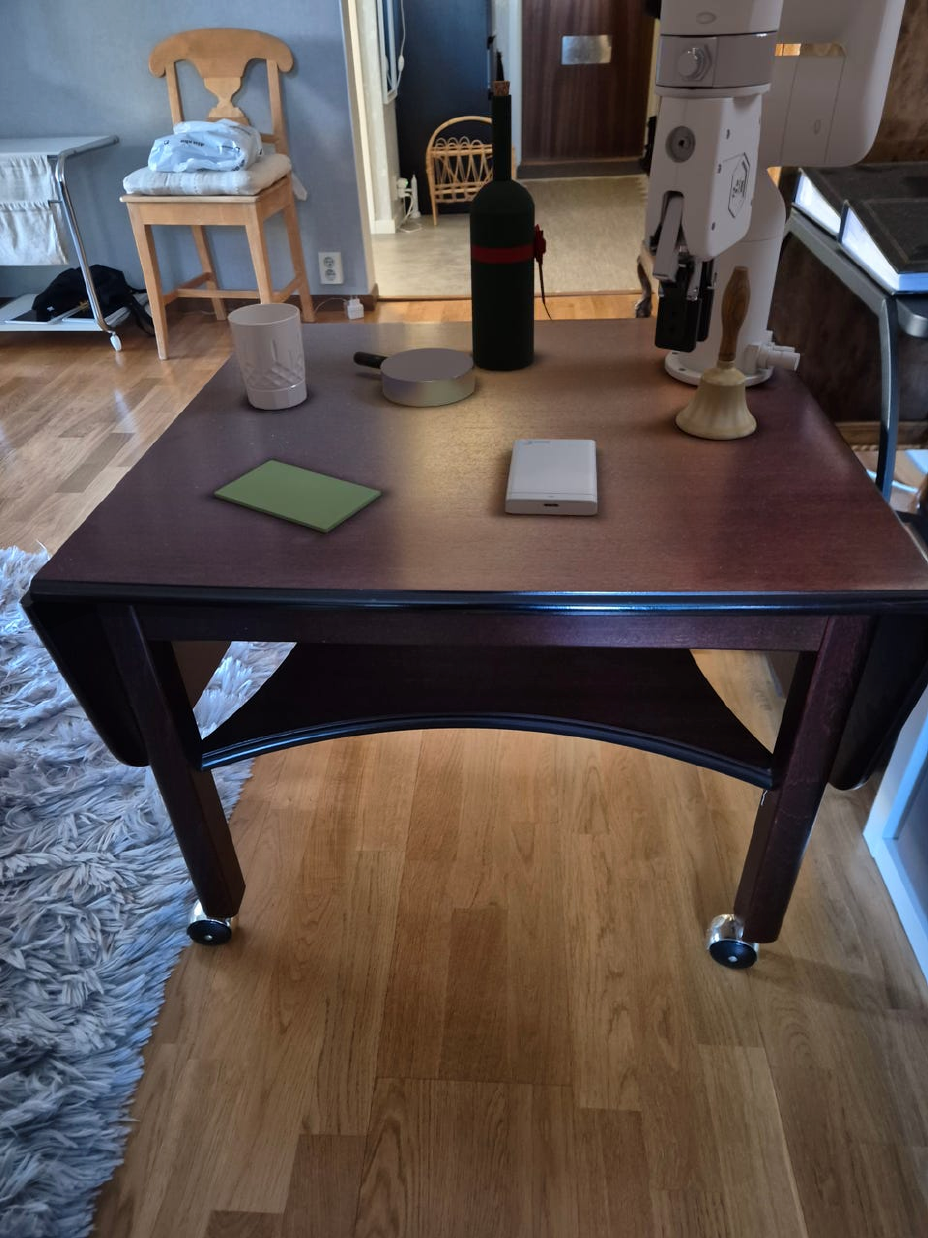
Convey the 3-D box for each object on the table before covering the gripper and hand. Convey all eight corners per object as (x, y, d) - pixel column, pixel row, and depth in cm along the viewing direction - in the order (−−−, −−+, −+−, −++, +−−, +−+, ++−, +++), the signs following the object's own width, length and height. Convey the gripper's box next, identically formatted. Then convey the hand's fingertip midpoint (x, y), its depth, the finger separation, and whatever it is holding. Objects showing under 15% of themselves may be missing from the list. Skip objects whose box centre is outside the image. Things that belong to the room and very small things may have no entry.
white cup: (319, 386, 103) (307, 302, 97) (302, 412, 96) (288, 324, 90) (256, 386, 103) (240, 302, 97) (236, 412, 97) (217, 324, 91)
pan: (492, 380, 102) (491, 356, 100) (441, 413, 95) (440, 387, 93) (383, 358, 109) (380, 335, 108) (328, 387, 102) (324, 363, 100)
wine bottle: (557, 367, 105) (567, 81, 87) (476, 373, 104) (468, 86, 86) (545, 345, 111) (551, 75, 93) (469, 351, 110) (460, 80, 92)
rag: (381, 495, 80) (380, 491, 80) (326, 533, 75) (325, 529, 74) (271, 463, 86) (271, 459, 86) (214, 496, 81) (213, 492, 81)
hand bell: (770, 421, 90) (800, 263, 80) (731, 447, 85) (758, 283, 76) (701, 402, 95) (722, 251, 85) (660, 426, 90) (678, 269, 80)
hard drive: (513, 438, 85) (505, 497, 75) (595, 439, 84) (597, 499, 74) (513, 453, 86) (505, 513, 76) (594, 454, 85) (596, 515, 75)
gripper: (730, 79, 49) (690, 386, 60) (804, 56, 59) (759, 321, 70) (610, 77, 52) (594, 368, 63) (701, 56, 63) (673, 309, 74)
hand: (681, 342), depth 67 cm, fingers closed
